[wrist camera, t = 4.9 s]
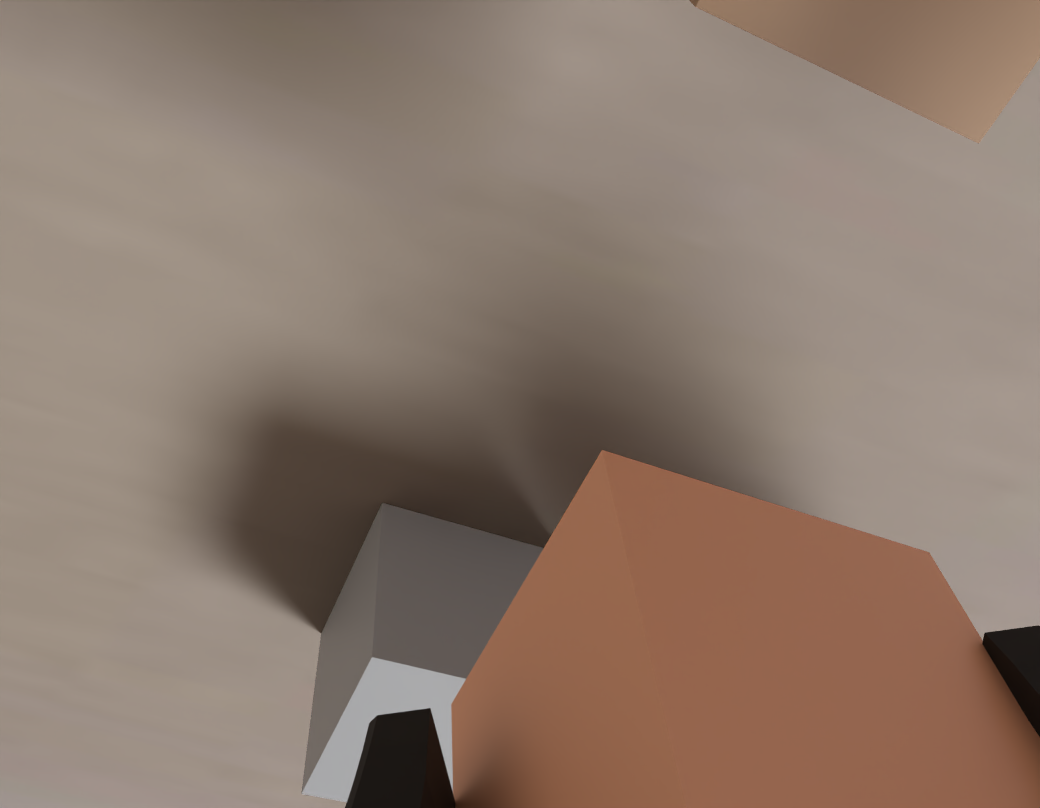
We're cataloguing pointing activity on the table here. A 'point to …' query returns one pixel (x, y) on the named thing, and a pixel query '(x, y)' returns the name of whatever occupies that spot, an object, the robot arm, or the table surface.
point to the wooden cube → (907, 49)
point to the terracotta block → (733, 666)
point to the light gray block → (406, 634)
